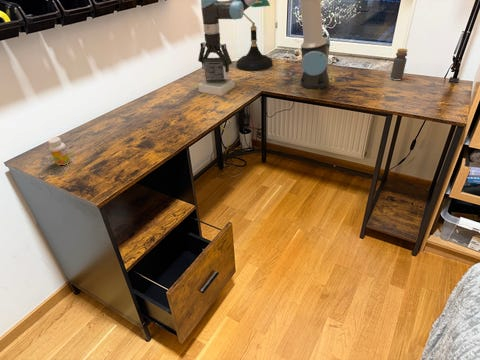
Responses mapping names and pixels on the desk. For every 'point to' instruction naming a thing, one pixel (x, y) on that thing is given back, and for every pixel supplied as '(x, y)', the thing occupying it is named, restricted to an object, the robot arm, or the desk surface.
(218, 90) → the base
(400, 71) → the bottle
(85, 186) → the desk surface
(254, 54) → the banker's lamp
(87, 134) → the desk surface
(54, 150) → the supplement bottle
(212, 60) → the small box
